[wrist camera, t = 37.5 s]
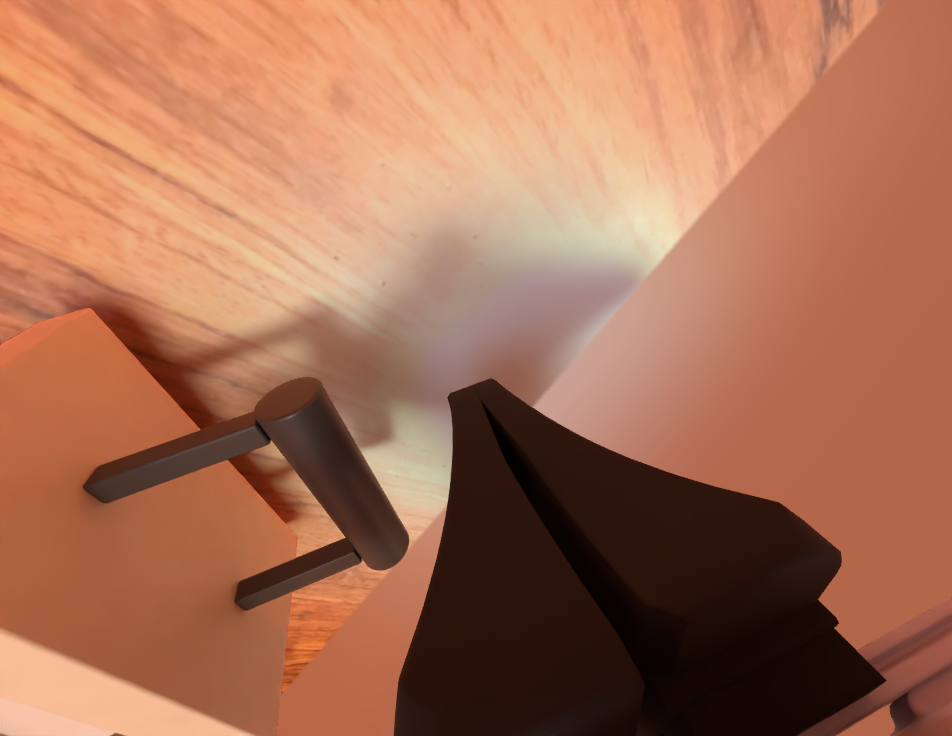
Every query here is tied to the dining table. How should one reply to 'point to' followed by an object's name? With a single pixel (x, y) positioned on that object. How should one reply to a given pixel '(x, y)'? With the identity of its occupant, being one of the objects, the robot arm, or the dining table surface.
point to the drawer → (158, 539)
